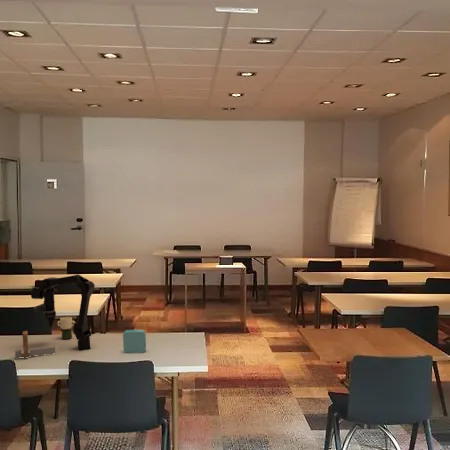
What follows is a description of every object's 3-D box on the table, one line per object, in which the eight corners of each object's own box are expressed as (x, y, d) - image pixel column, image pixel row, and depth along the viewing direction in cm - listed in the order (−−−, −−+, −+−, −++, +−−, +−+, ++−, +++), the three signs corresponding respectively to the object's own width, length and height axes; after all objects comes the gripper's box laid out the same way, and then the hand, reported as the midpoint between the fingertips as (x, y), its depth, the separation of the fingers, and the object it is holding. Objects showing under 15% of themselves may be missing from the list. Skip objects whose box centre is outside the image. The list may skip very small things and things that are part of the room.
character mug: (77, 337, 342) (76, 316, 342) (73, 340, 335) (72, 319, 334) (60, 337, 343) (59, 316, 342) (56, 340, 336) (55, 319, 335)
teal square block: (146, 350, 309) (145, 329, 308) (144, 352, 304) (144, 331, 303) (125, 350, 309) (124, 329, 308) (123, 353, 304) (122, 331, 304)
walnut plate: (28, 355, 304) (27, 330, 304) (28, 358, 298) (27, 333, 297) (23, 355, 304) (22, 331, 303) (23, 359, 297) (22, 334, 296)
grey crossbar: (55, 353, 307) (54, 346, 307) (55, 354, 305) (55, 347, 305) (15, 357, 300) (15, 350, 300) (15, 359, 298) (15, 352, 298)
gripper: (34, 297, 325) (35, 323, 326) (34, 303, 308) (36, 330, 308) (53, 296, 329) (55, 321, 330) (55, 301, 311) (56, 328, 312)
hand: (50, 325), depth 320 cm, fingers open, 9 cm apart
